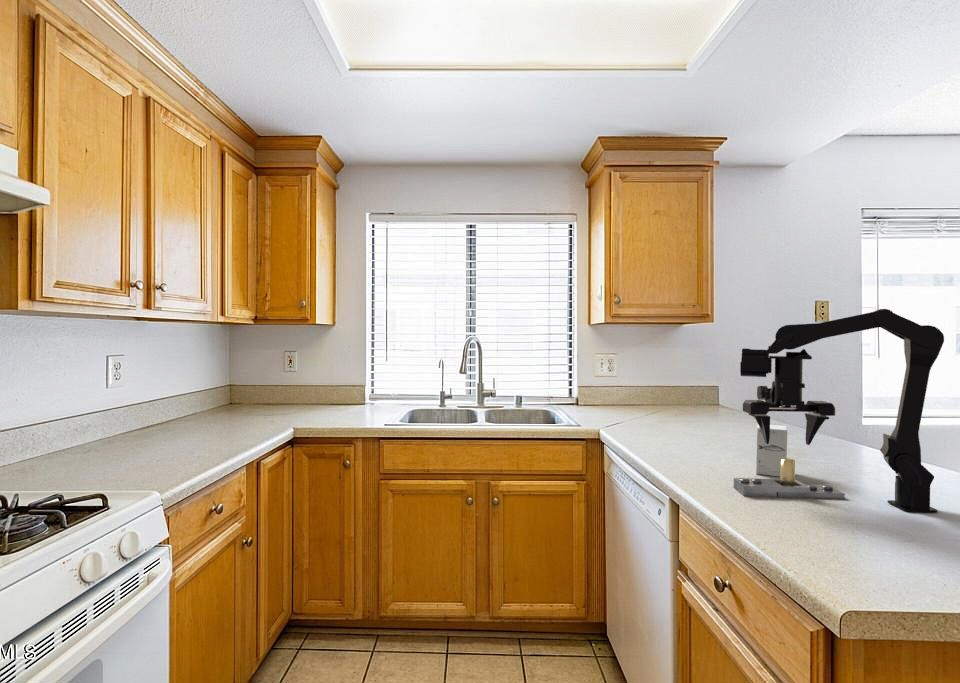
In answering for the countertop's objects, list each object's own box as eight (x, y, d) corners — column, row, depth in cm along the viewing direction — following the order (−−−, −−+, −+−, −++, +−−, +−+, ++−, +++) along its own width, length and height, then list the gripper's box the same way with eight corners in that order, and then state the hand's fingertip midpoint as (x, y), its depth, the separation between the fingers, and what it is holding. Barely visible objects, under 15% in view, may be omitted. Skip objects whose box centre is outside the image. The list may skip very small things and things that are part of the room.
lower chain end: (844, 498, 129) (844, 491, 129) (778, 497, 130) (778, 489, 130) (828, 490, 136) (828, 482, 136) (765, 488, 137) (765, 481, 137)
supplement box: (755, 474, 150) (755, 427, 150) (756, 468, 157) (756, 423, 156) (787, 478, 147) (787, 429, 146) (786, 471, 153) (787, 425, 153)
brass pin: (796, 495, 132) (797, 461, 131) (783, 494, 132) (783, 460, 132) (791, 491, 135) (791, 458, 134) (778, 491, 135) (778, 458, 135)
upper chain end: (809, 497, 129) (810, 484, 129) (744, 496, 131) (744, 483, 131) (795, 489, 136) (796, 476, 136) (733, 487, 138) (733, 475, 138)
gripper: (813, 375, 140) (812, 438, 140) (735, 374, 142) (734, 436, 142) (837, 379, 129) (836, 447, 129) (752, 378, 130) (751, 446, 131)
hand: (787, 444), depth 133 cm, fingers open, 9 cm apart
